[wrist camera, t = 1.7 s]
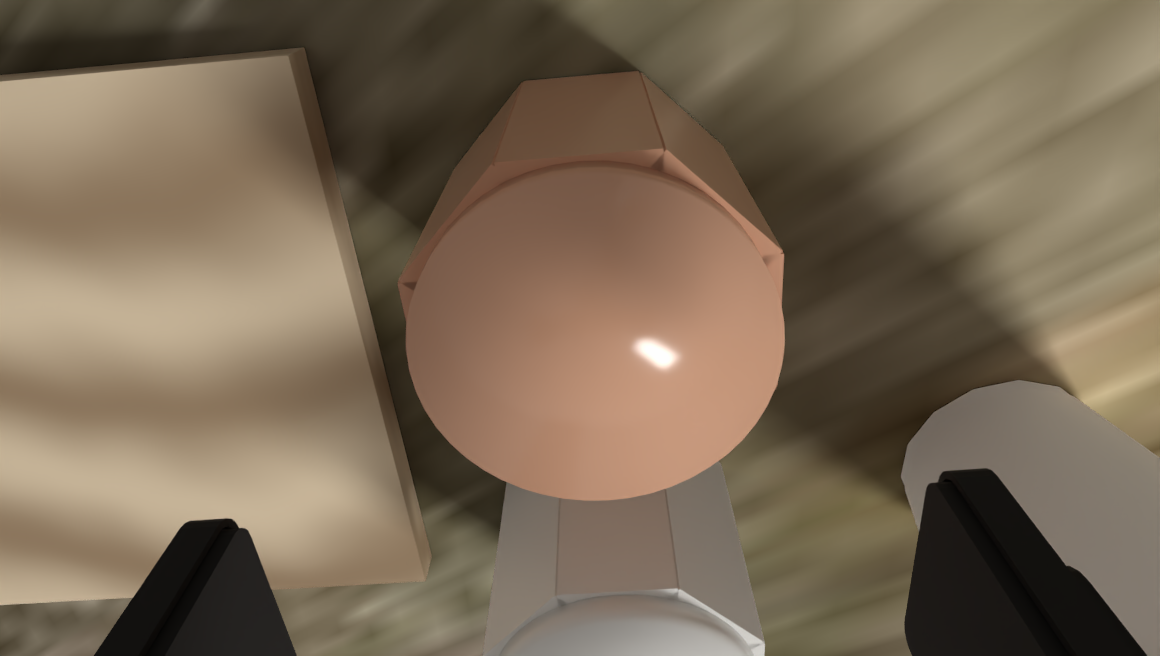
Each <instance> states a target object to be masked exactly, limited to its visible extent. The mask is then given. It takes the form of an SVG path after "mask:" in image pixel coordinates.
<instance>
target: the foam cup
mask: <svg viewBox="0 0 1160 656" xmlns="http://www.w3.org/2000/svg"><path fill="white" fill-rule="evenodd" d="M981 468H988V469H990V470H992V471H993V472H994V473H995V474H996V475H997V476H998V477H999V479H1000V480H1001V481H1002V482H1003V484H1004V485H1005V486H1006V488H1007V489H1008V490H1009V492H1010V493H1011V494H1012V495H1013V497H1014V498H1015V499H1016V501H1017V502H1018V503H1019V505H1020V506H1021V507H1022V509H1023V510H1024V511H1025V512H1026V514H1027V515H1028V516H1029V518H1030V519H1031V520H1032V522H1033V523H1034V524H1035V526H1036V527H1037V528H1038V529H1039V531H1040V532H1041V533H1042V535H1043V536H1044V537H1045V539H1046V540H1047V541H1048V543H1049V544H1050V545H1051V546H1052V548H1053V549H1054V550H1055V552H1056V553H1057V554H1058V556H1059V557H1060V558H1061V560H1062V561H1063V562H1064V563H1065V565H1066V566H1071V567H1073V568H1074V569H1076V570H1078V571H1080V572H1081V573H1082V574H1083V575H1084V576H1085V577H1086V578H1087V579H1088V581H1089V582H1090V583H1091V584H1092V585H1093V587H1094V588H1095V589H1096V591H1097V592H1098V593H1099V594H1100V596H1101V597H1102V598H1103V599H1104V601H1105V602H1106V603H1107V605H1108V606H1109V607H1110V608H1111V610H1112V611H1113V612H1114V614H1115V615H1116V616H1117V617H1118V619H1119V620H1120V621H1121V622H1122V624H1123V625H1124V626H1125V628H1126V629H1127V630H1128V631H1129V633H1130V634H1131V635H1132V637H1133V638H1134V639H1135V640H1136V642H1137V643H1138V644H1139V645H1140V647H1141V648H1142V649H1143V651H1144V652H1145V653H1146V654H1147V656H1160V458H1159V457H1158V456H1156V455H1155V454H1154V453H1152V452H1151V451H1149V450H1148V449H1147V448H1145V447H1144V446H1142V445H1141V444H1140V443H1138V442H1137V441H1135V440H1134V439H1133V438H1131V437H1130V436H1129V435H1127V434H1126V433H1124V432H1123V431H1122V430H1120V429H1119V428H1117V427H1116V426H1115V425H1113V424H1112V423H1110V422H1109V421H1108V420H1106V419H1105V418H1103V417H1102V416H1101V415H1099V414H1098V413H1096V412H1095V411H1094V410H1092V409H1091V408H1090V407H1088V406H1087V405H1085V404H1084V403H1083V402H1081V401H1080V400H1078V399H1077V398H1076V397H1074V396H1071V395H1069V394H1068V393H1067V392H1066V391H1064V390H1063V389H1062V388H1061V387H1058V386H1052V385H1046V384H1040V383H1034V382H1028V381H1023V380H1016V381H1011V382H1006V383H1001V384H996V385H991V386H987V387H982V388H977V389H973V390H971V391H969V392H968V393H966V394H964V395H962V396H961V397H959V398H957V399H956V400H954V401H952V402H950V403H949V404H947V405H945V406H944V407H942V408H940V409H939V410H937V411H935V412H933V414H932V415H931V416H930V417H929V418H928V420H927V421H926V422H925V423H924V425H923V426H922V427H921V428H920V430H919V431H918V432H917V433H916V434H915V436H914V437H913V438H912V439H911V441H910V442H909V443H908V445H907V450H906V454H905V459H904V463H903V468H902V473H901V479H902V481H903V483H904V486H905V492H906V495H907V498H908V501H909V504H910V507H911V510H912V513H913V516H914V519H915V522H916V525H917V527H918V530H919V529H920V523H921V517H922V511H923V504H924V498H925V492H926V488H927V486H928V484H929V483H936V482H938V479H939V476H940V475H941V473H942V472H944V471H951V470H966V469H981Z"/></svg>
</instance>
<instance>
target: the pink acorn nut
mask: <svg viewBox="0 0 1160 656" xmlns="http://www.w3.org/2000/svg"><path fill="white" fill-rule="evenodd" d="M783 267H784V253H783V250H782V248H781V247H780V245H779V243H778V241H777V240H776V238H775V236H774V235H773V233H772V231H771V229H770V228H769V226H768V224H767V222H766V221H765V219H764V217H763V215H762V214H761V212H760V210H759V208H758V207H757V205H756V203H755V201H754V200H753V198H752V196H751V194H750V193H749V191H748V189H747V187H746V186H745V184H744V182H743V180H742V179H741V177H740V175H739V173H738V172H737V170H736V168H735V166H734V165H733V163H732V161H731V159H730V158H729V156H728V154H727V152H726V151H725V149H724V147H723V145H721V144H720V143H719V142H718V141H717V140H716V139H715V138H714V137H713V136H711V135H710V134H709V133H708V132H707V131H706V130H705V129H704V128H703V127H702V126H700V125H699V124H698V123H697V122H696V121H695V120H694V119H693V118H692V117H690V116H689V115H688V114H687V113H686V112H685V111H684V110H683V109H682V108H681V107H679V106H678V105H677V104H676V103H675V102H674V101H673V100H672V99H671V98H669V97H668V96H667V95H666V94H665V93H664V92H663V91H662V90H661V89H660V88H658V87H657V86H656V85H655V84H654V83H653V82H652V81H651V80H650V79H648V78H647V77H646V76H645V75H644V74H643V73H642V72H640V73H639V71H631V72H619V73H608V74H596V75H585V76H574V77H562V78H551V79H539V80H528V81H523V83H522V82H521V83H520V85H519V86H518V87H517V89H516V90H515V91H514V92H513V94H512V95H511V96H510V98H509V99H508V100H507V101H506V103H505V104H504V105H503V107H502V108H501V109H500V110H499V112H498V113H497V114H496V116H495V117H494V118H493V119H492V121H491V122H490V123H489V124H488V126H487V127H486V128H485V130H484V131H483V132H482V133H481V135H480V136H479V137H478V139H477V140H476V141H475V142H474V144H473V145H472V146H471V148H470V149H469V150H468V151H467V153H466V154H465V155H464V157H463V158H462V159H461V160H460V162H459V163H458V164H457V166H456V167H455V168H454V170H453V172H452V174H451V176H450V178H449V180H448V182H447V184H446V186H445V188H444V190H443V192H442V194H441V196H440V198H439V200H438V202H437V204H436V206H435V208H434V210H433V212H432V214H431V216H430V218H429V220H428V222H427V224H426V226H425V228H424V230H423V232H422V234H421V236H420V238H419V240H418V242H417V244H416V246H415V248H414V250H413V252H412V254H411V256H410V258H409V260H408V262H407V264H406V266H405V267H404V269H403V271H402V273H401V275H400V277H399V279H398V288H399V292H400V297H401V301H402V306H403V310H404V314H405V319H406V323H407V324H406V353H407V359H408V366H409V371H410V374H411V378H412V381H413V384H414V387H415V391H416V393H417V395H418V397H419V399H420V401H421V403H422V405H423V407H424V409H425V411H426V413H427V414H428V416H429V417H430V419H431V420H432V422H433V423H434V425H435V426H436V428H437V429H438V430H439V431H440V432H441V433H442V435H443V436H444V437H445V438H446V439H447V440H448V442H449V443H450V444H451V445H453V446H454V447H455V448H456V449H457V450H458V451H459V452H460V453H461V454H462V455H464V456H465V457H466V458H467V459H469V460H470V461H471V462H473V463H474V464H476V465H477V466H478V467H480V468H481V469H483V470H484V471H486V472H488V473H490V474H492V475H494V476H495V477H497V478H499V479H501V480H503V481H505V482H508V483H510V484H512V485H515V486H517V487H520V488H522V489H525V490H529V491H532V492H535V493H539V494H542V495H547V496H552V497H557V498H563V499H572V500H584V501H602V500H616V499H625V498H632V497H637V496H641V495H646V494H651V493H654V492H657V491H660V490H663V489H666V488H669V487H672V486H674V485H677V484H679V483H681V482H683V481H686V480H688V479H690V478H692V477H694V476H696V475H697V474H699V473H701V472H702V471H704V470H706V469H708V468H709V467H711V466H712V465H714V464H715V463H716V462H718V461H719V460H720V459H722V458H723V457H724V456H726V455H727V454H728V453H729V452H730V451H731V450H732V449H733V448H734V447H736V446H737V445H738V444H739V443H740V442H741V441H742V440H743V439H744V438H745V436H746V435H747V434H748V433H749V432H750V430H751V429H752V428H753V427H754V425H755V424H756V423H757V421H758V420H759V418H760V417H761V415H762V413H763V412H764V410H765V409H766V407H767V405H768V403H769V401H770V399H771V397H772V394H773V392H774V390H775V389H776V387H777V386H778V378H779V375H780V371H781V368H782V363H783V355H784V347H785V326H784V317H783V312H782V288H783Z"/></svg>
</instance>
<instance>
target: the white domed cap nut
mask: <svg viewBox="0 0 1160 656" xmlns="http://www.w3.org/2000/svg"><path fill="white" fill-rule="evenodd" d="M764 650H765V642H764V638H763V634H762V630H761V626H760V621H759V617H758V613H757V609H756V605H755V601H754V597H753V593H752V589H751V584H750V580H749V576H748V572H747V568H746V564H745V560H744V556H743V551H742V547H741V543H740V539H739V535H738V531H737V527H736V523H735V518H734V514H733V510H732V506H731V502H730V498H729V494H728V490H727V486H726V481H725V477H724V473H723V469H722V465H721V463H720V462H719V461H718V462H716V463H715V464H714V465H712V466H711V467H709V468H708V469H706V470H704V471H702V472H701V473H699V474H697V475H696V476H694V477H692V478H690V479H688V480H686V481H683V482H681V483H679V484H677V485H674V486H672V487H669V488H666V489H663V490H660V491H657V492H654V493H651V494H646V495H641V496H637V497H632V498H625V499H616V500H602V501H584V500H572V499H563V498H557V497H552V496H547V495H542V494H539V493H535V492H532V491H529V490H525V489H522V488H520V487H517V486H515V485H512V484H510V483H508V482H506V490H505V497H504V504H503V511H502V518H501V526H500V533H499V540H498V547H497V554H496V562H495V569H494V576H493V583H492V591H491V598H490V605H489V612H488V619H487V627H486V634H485V641H484V648H483V656H764Z"/></svg>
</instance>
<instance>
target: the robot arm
mask: <svg viewBox="0 0 1160 656" xmlns="http://www.w3.org/2000/svg"><path fill="white" fill-rule="evenodd" d="M905 634H906V640H907V643H908V646H909V649H910V652H911V654H912V656H1147V654H1146V653H1145V652H1144V651H1143V649H1142V648H1141V647H1140V645H1139V644H1138V643H1137V642H1136V640H1135V639H1134V638H1133V637H1132V635H1131V634H1130V633H1129V631H1128V630H1127V629H1126V628H1125V626H1124V625H1123V624H1122V622H1121V621H1120V620H1119V619H1118V617H1117V616H1116V615H1115V614H1114V612H1113V611H1112V610H1111V608H1110V607H1109V606H1108V605H1107V603H1106V602H1105V601H1104V599H1103V598H1102V597H1101V596H1100V594H1099V593H1098V592H1097V591H1096V589H1095V588H1094V587H1093V585H1092V584H1091V583H1090V582H1089V581H1088V579H1087V578H1086V577H1085V576H1084V575H1083V574H1082V573H1081V572H1080V571H1078V570H1076V569H1074V568H1073V567H1071V566H1066V565H1065V563H1064V562H1063V561H1062V560H1061V558H1060V557H1059V556H1058V554H1057V553H1056V552H1055V550H1054V549H1053V548H1052V546H1051V545H1050V544H1049V543H1048V541H1047V540H1046V539H1045V537H1044V536H1043V535H1042V533H1041V532H1040V531H1039V529H1038V528H1037V527H1036V526H1035V524H1034V523H1033V522H1032V520H1031V519H1030V518H1029V516H1028V515H1027V514H1026V512H1025V511H1024V510H1023V509H1022V507H1021V506H1020V505H1019V503H1018V502H1017V501H1016V499H1015V498H1014V497H1013V495H1012V494H1011V493H1010V492H1009V490H1008V489H1007V488H1006V486H1005V485H1004V484H1003V482H1002V481H1001V480H1000V479H999V477H998V476H997V475H996V474H995V473H994V472H993V471H992V470H990V469H988V468H981V469H966V470H951V471H944V472H942V473H941V475H940V476H939V479H938V482H936V483H929V484H928V486H927V488H926V492H925V498H924V504H923V511H922V517H921V523H920V529H919V535H918V541H917V548H916V554H915V560H914V566H913V572H912V578H911V585H910V591H909V597H908V603H907V609H906V616H905ZM94 656H296V653H295V650H294V647H293V645H292V642H291V640H290V637H289V634H288V632H287V629H286V626H285V624H284V621H283V619H282V616H281V613H280V611H279V608H278V606H277V603H276V600H275V598H274V595H273V592H272V590H271V587H270V585H269V582H268V579H267V577H266V574H265V571H264V569H263V566H262V564H261V561H260V558H259V556H258V553H257V550H256V548H255V545H254V543H253V540H252V537H251V535H250V533H249V531H248V530H247V529H245V528H239V527H238V525H237V523H236V522H235V521H234V520H233V519H229V518H224V519H209V520H194V521H188V522H186V523H184V524H183V526H182V527H181V528H180V529H179V530H178V532H177V533H176V535H175V536H174V538H173V539H172V541H171V542H170V544H169V545H168V547H167V548H166V550H165V551H164V553H163V554H162V556H161V557H160V558H159V560H158V561H157V563H156V564H155V566H154V567H153V569H152V570H151V572H150V573H149V575H148V576H147V578H146V579H145V581H144V582H143V584H142V585H141V587H140V588H139V590H138V591H137V593H136V594H135V596H134V597H133V599H132V600H131V601H130V603H129V604H128V606H127V607H126V609H125V610H124V612H123V613H122V615H121V616H120V618H119V619H118V621H117V622H116V624H115V625H114V627H113V628H112V630H111V631H110V633H109V634H108V636H107V637H106V639H105V640H104V642H103V643H102V644H101V646H100V647H99V649H98V650H97V652H96V653H95V655H94Z"/></svg>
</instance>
